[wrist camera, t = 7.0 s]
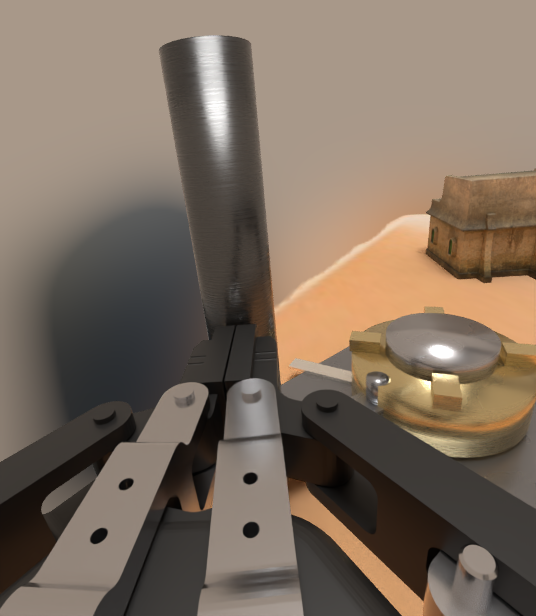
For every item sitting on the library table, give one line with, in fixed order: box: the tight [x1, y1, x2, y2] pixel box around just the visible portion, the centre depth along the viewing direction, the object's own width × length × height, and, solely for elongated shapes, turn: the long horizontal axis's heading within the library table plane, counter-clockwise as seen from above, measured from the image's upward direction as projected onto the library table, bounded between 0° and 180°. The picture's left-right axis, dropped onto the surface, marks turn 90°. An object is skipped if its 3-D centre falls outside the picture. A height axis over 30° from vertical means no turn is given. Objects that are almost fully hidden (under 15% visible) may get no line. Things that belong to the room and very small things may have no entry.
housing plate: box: [281, 346, 536, 509], centre depth 24 cm, size 19×18×1 cm
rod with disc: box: [159, 36, 536, 482], centre depth 18 cm, size 18×10×18 cm, turn 116°
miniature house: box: [426, 169, 536, 283], centre depth 47 cm, size 15×14×11 cm
